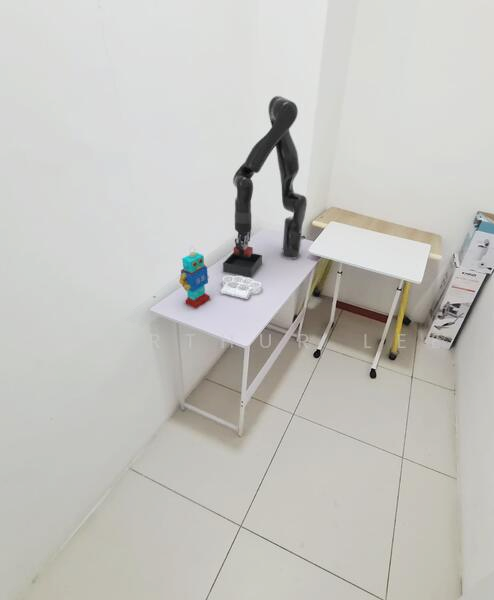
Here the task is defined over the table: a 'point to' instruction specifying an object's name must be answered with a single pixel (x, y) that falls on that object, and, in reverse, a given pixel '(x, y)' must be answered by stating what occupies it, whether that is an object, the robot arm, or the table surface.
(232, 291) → the knuckle duster
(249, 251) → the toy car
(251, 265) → the storage box
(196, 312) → the table surface
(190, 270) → the toy robot
